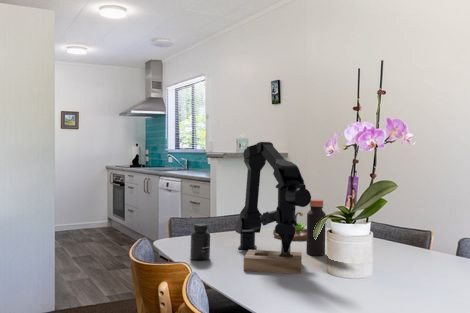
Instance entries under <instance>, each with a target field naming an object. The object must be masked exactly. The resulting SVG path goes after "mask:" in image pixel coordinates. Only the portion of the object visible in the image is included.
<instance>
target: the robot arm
mask: <svg viewBox="0 0 470 313" xmlns="http://www.w3.org/2000/svg"><path fill="white" fill-rule="evenodd" d="M242 154H243V163H244V165H245V166H246V168H247V174H246V176H247V177H246V188H245V189H246V190H245V199H244V200H245V202H244V207H243V208H242V209H241V211H240V213H239V218H238V220H237V222H236V224H235V227H234V229H235V233H237V234H240V237H239V240H240V241H239V242H240V244H239V246H238V248H237V250H242V251H243V250H246V251H248V250H257V248H258V246H257V245H256V234H257V233H258V234H260V233H261V228H262V226H267V225H269V224H272V223H276V225H275V226H274V229H275V233H276V234H278V235H279V236H280V237H281V240H282V245H283V250H284V252H286V253H287V252H288V249H289V247H290V245H291V244H292V242H293V241H292V240H293V237H294V235H295V230H296V228H295V226H296V218H295V215H296V209H297V208H296V207H301V208H305V207H308V205H310V201H311V200H312V195H311V191H309V190H308V189H307V186H306V184H305V180H304V178H303V176H302V173H301V171H300V168H299V167H298V165H297V164H295V163H293V162H292V161H289V160H286V159H285V158H284V157H283V155H281V153H280V152H279V151H278V150H277V149H276V147H274V144H273V142H270V141H260V142H259V141H258V142H257V143H255V144H252V145H250V146H247V147H245V149H243V153H242ZM266 162H267V163H268V164H269V165H270V166H271V167H272V169H273V173H272V175H273V176H274V178H275V181H276V182H277V184H276V185H275V189H277V207H276V210H272V211H265V212H263V213H261V211H260V210H259V208H258V204H259V196H260V195H259V194H260V184H261V183H260V182H261V172H262V170H263V168H264V167H265V166H266ZM281 240H280V241H281Z"/></svg>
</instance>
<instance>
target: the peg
mask: <svg viewBox="0 0 470 313" xmlns="http://www.w3.org/2000/svg"><path fill="white" fill-rule="evenodd" d="M280 241H281V245H280V246H281V247H280V248H281V249H280V251H281V257H290V252H292V251H291V248H292V247H291V245H290V247H289V249H288V252H287V253H286V252H284V250H283V245H282V240H280Z"/></svg>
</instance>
